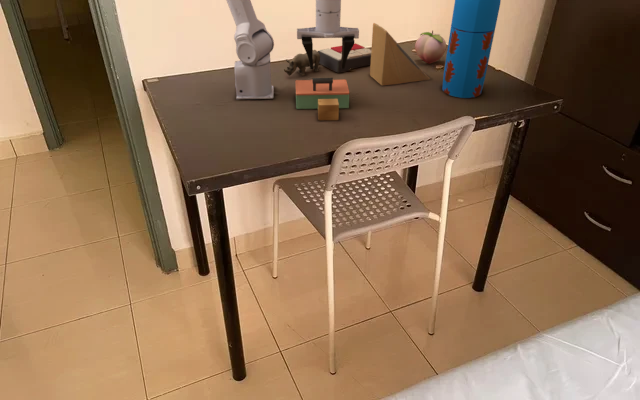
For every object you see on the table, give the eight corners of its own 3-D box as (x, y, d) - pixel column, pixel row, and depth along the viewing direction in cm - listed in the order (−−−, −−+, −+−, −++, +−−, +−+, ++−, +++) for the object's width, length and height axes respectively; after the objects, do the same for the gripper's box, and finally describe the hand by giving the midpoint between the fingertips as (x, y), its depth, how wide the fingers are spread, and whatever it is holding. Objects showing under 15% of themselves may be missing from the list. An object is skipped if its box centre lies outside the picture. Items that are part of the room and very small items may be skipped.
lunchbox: (348, 108, 128) (349, 94, 125) (296, 109, 127) (296, 94, 125) (345, 95, 134) (346, 81, 132) (295, 95, 134) (295, 82, 131)
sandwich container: (431, 79, 144) (438, 26, 135) (382, 86, 140) (386, 31, 131) (416, 69, 150) (423, 17, 142) (369, 75, 146) (372, 22, 138)
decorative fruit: (449, 64, 154) (454, 31, 148) (433, 70, 149) (438, 36, 144) (424, 56, 160) (428, 24, 154) (408, 62, 155) (412, 29, 149)
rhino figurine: (279, 77, 144) (278, 56, 141) (314, 66, 152) (314, 46, 148) (288, 81, 142) (287, 60, 138) (324, 69, 149) (324, 49, 146)
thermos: (433, 86, 139) (447, -10, 125) (463, 80, 144) (480, -14, 129) (459, 101, 132) (477, 0, 117) (490, 93, 136) (511, -4, 121)
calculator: (378, 51, 152) (338, 58, 144) (377, 65, 154) (337, 73, 147) (356, 42, 159) (317, 48, 152) (355, 55, 162) (316, 62, 154)
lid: (349, 94, 125) (350, 80, 123) (296, 95, 124) (295, 81, 122) (346, 81, 132) (346, 67, 130) (295, 82, 131) (295, 68, 129)
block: (318, 120, 122) (318, 105, 119) (317, 114, 125) (317, 98, 122) (338, 120, 122) (338, 104, 120) (337, 113, 125) (337, 98, 123)
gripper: (297, 15, 112) (298, 74, 120) (361, 14, 113) (358, 73, 121) (296, 6, 118) (297, 63, 126) (357, 6, 119) (355, 62, 126)
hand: (327, 67), depth 124 cm, fingers open, 7 cm apart
